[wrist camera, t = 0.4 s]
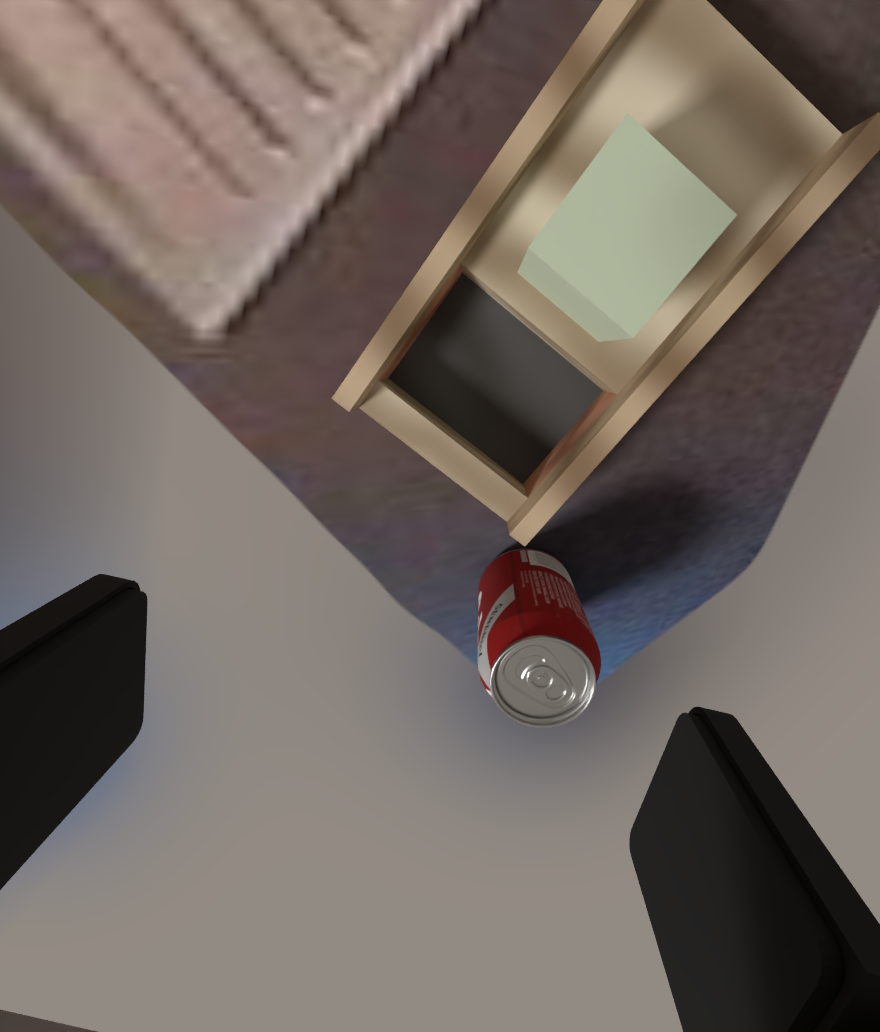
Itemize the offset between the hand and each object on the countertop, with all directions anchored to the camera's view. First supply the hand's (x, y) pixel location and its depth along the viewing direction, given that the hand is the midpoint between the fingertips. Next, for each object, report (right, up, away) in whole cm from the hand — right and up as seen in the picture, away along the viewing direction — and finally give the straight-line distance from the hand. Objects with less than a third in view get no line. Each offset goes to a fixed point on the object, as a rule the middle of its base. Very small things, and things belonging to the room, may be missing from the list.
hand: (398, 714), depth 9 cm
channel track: (+9, +17, +24) cm, 31 cm away
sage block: (+9, +17, +19) cm, 28 cm away
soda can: (+7, -2, +30) cm, 31 cm away
